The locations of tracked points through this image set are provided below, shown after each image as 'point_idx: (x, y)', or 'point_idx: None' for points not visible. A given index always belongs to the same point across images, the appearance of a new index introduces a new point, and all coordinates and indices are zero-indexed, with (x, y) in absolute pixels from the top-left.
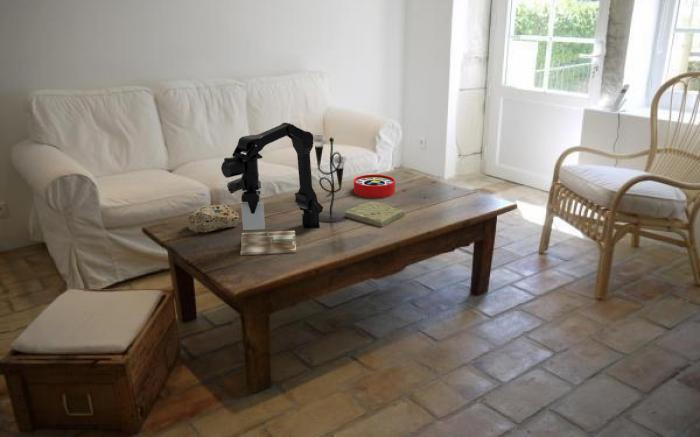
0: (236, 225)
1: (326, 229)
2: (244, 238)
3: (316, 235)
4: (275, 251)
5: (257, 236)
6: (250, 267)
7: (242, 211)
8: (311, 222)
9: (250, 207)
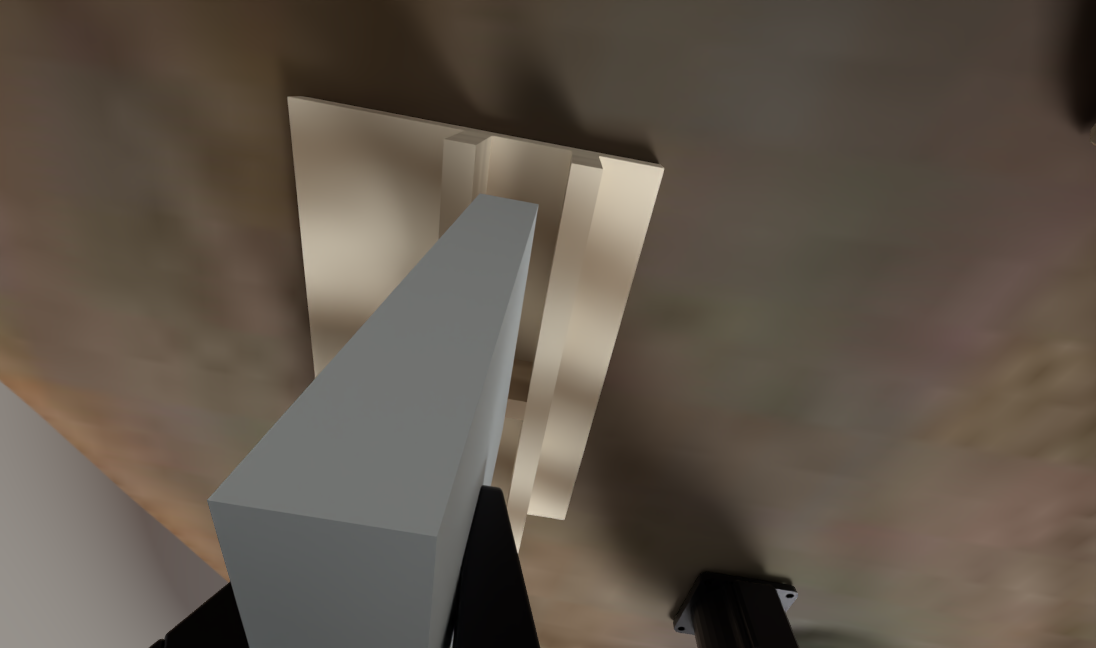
0: (1092, 142)
1: (632, 635)
2: (442, 179)
3: (565, 589)
4: (317, 374)
5: None
6: (48, 153)
7: (369, 338)
8: (699, 633)
9: (217, 613)
